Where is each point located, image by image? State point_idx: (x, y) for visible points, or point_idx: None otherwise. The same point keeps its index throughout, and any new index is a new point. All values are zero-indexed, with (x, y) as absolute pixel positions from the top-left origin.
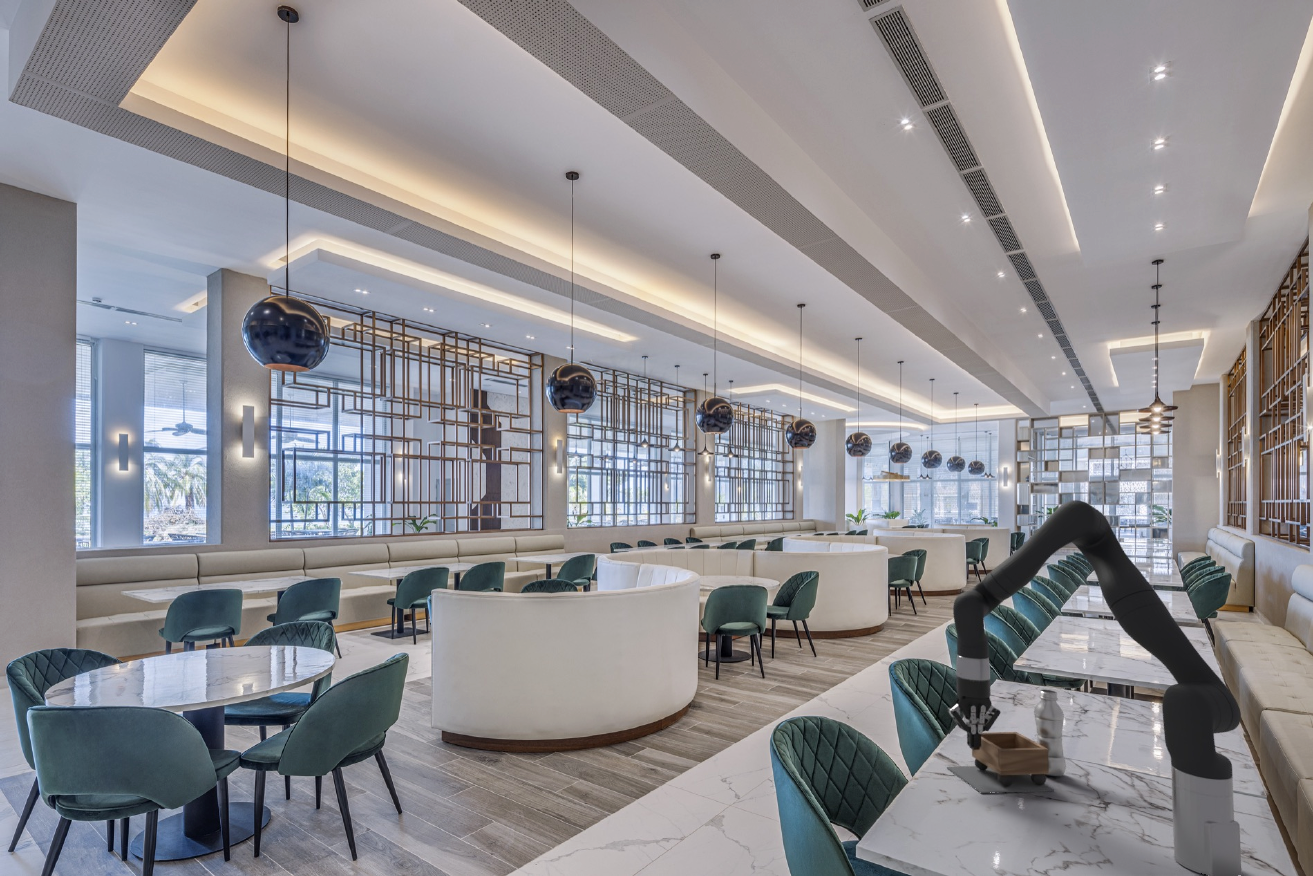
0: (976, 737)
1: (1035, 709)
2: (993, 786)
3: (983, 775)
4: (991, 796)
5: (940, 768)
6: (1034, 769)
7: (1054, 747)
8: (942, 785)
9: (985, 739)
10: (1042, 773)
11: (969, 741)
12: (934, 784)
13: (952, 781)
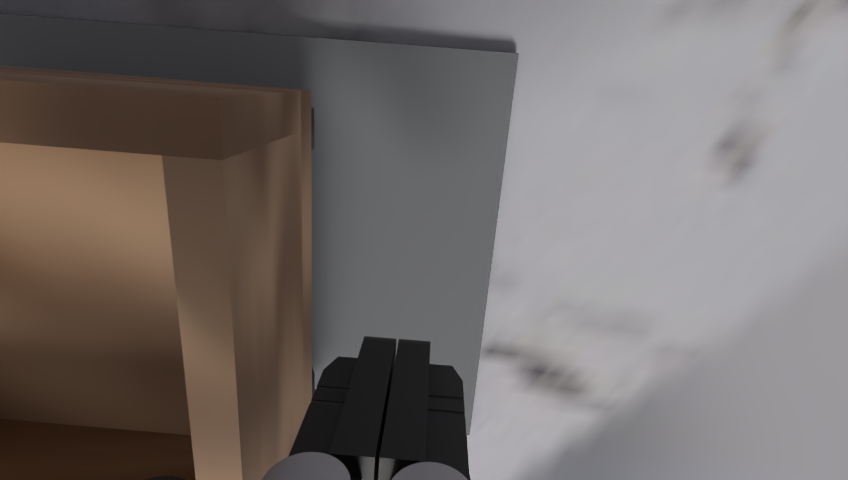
0: (386, 425)
1: None
2: (367, 130)
3: (323, 297)
4: (469, 6)
5: (501, 438)
6: None
7: None
8: (672, 227)
9: (202, 463)
10: None
11: (462, 422)
12: (712, 249)
13: (562, 271)
